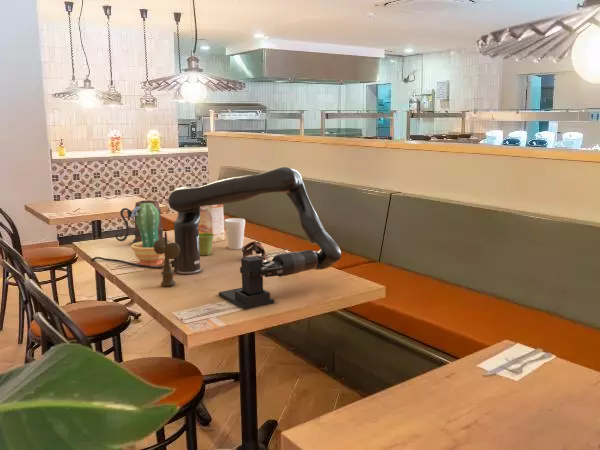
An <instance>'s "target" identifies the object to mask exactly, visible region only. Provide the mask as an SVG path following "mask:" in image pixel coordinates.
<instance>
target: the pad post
mask: <svg viewBox="0 0 600 450" xmlns="http://www.w3.org/2000/svg"><path fill="white" fill-rule="evenodd" d="M262 260H263V259H262V258H260V257H257V256H255V255H254V256H253V255H252V256H249V257H248V256H246V257H245V258H244V257H242V258H240V262H241V263H240V265H241V266H240V267H241V268H242V273H241V288H242V291H243V292H245V293H247V294H249V295H251V294H255V293H260V292H263V290H264V276H255V277H249V276H248V271H249V270H254V269H260V268H262Z"/></svg>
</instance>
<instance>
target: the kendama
mask: <svg viewBox="0 0 600 450" xmlns="http://www.w3.org/2000/svg"><path fill="white" fill-rule="evenodd" d="M164 238H165V240H164V239H160V240H157V241H156V242H155V244H154V251H155V252H156V253H157V254H163V253H164V254H165V256H164V261H163V265H164V268H162V269H163V270H162V271H161V276H162V280H161V282H160V285H161V287H166V288H168V287H172V286H175V285H176V281H175V279H174V274H175V273H174V270H173V269H172V266H171V264H170V262H171V260H173V259H174V258H176V257H178V255H179V253H180V247H179V245H178V244H177V243H175V241H172V242H169V241H168V232H167V231H164ZM168 242H169V243H168Z"/></svg>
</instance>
